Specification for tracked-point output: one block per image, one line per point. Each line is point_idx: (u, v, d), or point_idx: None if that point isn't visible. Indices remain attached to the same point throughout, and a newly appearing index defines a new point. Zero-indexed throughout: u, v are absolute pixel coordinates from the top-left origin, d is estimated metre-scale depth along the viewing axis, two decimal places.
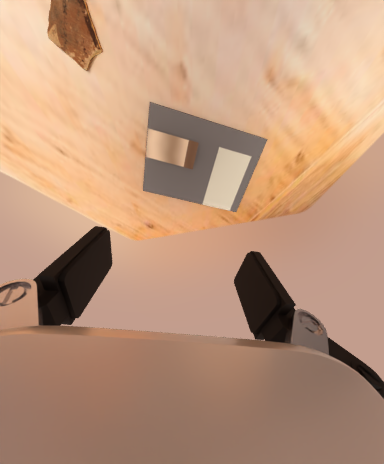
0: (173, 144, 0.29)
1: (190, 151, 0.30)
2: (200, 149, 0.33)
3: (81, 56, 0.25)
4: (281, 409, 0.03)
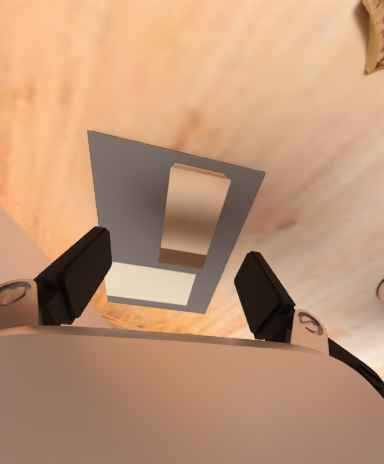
0: (198, 231, 0.14)
1: (189, 258, 0.16)
2: None
3: None
4: (281, 409, 0.03)
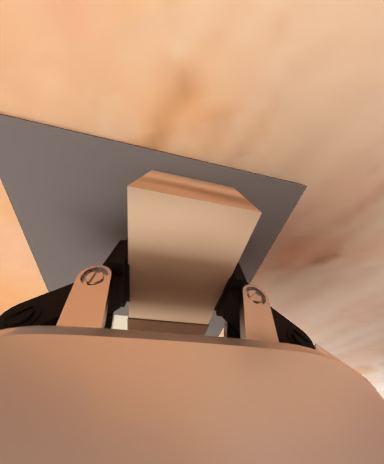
0: (194, 295, 0.08)
1: (179, 328, 0.10)
2: None
3: None
4: (281, 409, 0.03)
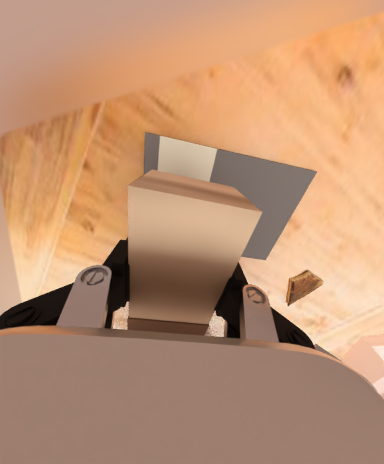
0: (194, 294, 0.08)
1: (179, 328, 0.10)
2: None
3: (308, 278, 0.34)
4: (281, 409, 0.03)
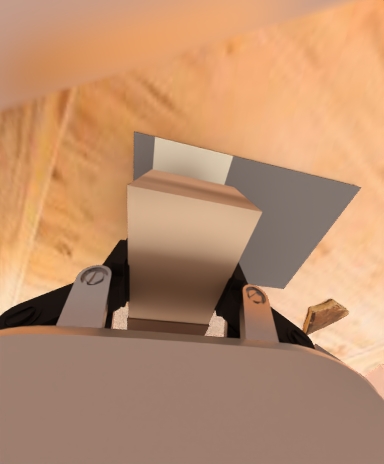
0: (194, 294, 0.08)
1: (179, 328, 0.10)
2: None
3: (332, 309, 0.28)
4: (281, 409, 0.03)
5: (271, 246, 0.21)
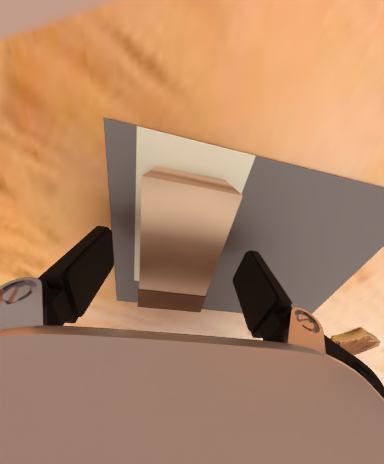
0: (193, 267, 0.10)
1: (180, 300, 0.11)
2: None
3: (362, 340, 0.23)
4: (281, 409, 0.03)
5: (296, 273, 0.16)
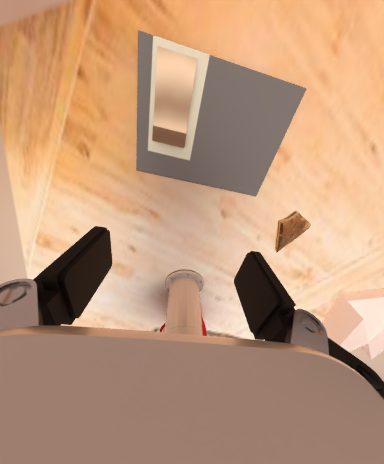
0: (179, 108, 0.21)
1: (174, 137, 0.23)
2: (211, 156, 0.28)
3: (296, 218, 0.35)
4: (281, 409, 0.03)
5: (243, 148, 0.28)
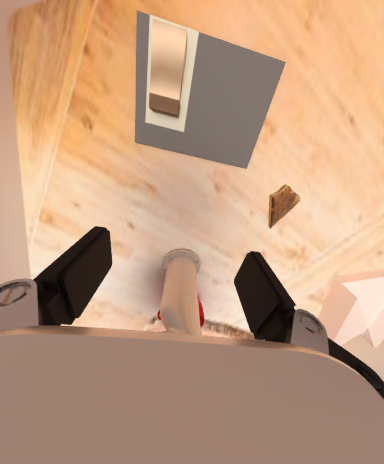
0: (172, 76, 0.24)
1: (168, 103, 0.26)
2: (203, 128, 0.31)
3: (286, 191, 0.37)
4: (281, 409, 0.03)
5: (232, 120, 0.30)
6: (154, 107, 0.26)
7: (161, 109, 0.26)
